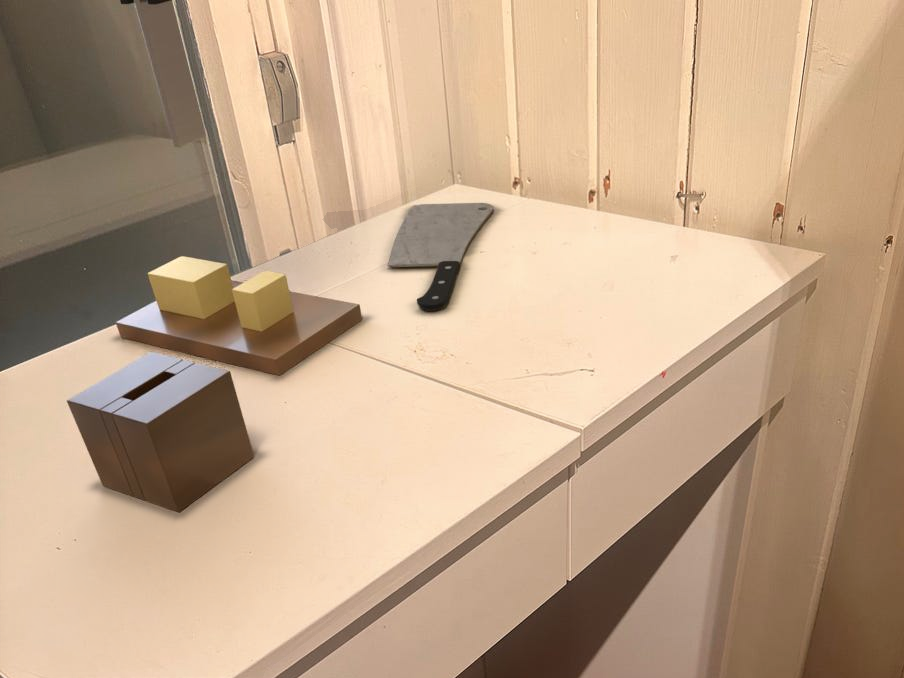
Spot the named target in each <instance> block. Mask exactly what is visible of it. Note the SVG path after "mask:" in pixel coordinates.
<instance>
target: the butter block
mask: <svg viewBox="0 0 904 678" xmlns="http://www.w3.org/2000/svg"><path fill="white" fill-rule="evenodd" d="M147 276H148V280H149V282H150V285H151V289H152V292H153V295H154V297H155V301H157V304H158V307H159V310H164V311H168V312H173V313H178V314H182V315H187V316H191V317H196V318H201V319H206V318H207V317H209V316H211V315H213V314H214V313H216V312H218V311H220V310H221V309H223V308H225V307H226V306H228V305H230V304H232V303H233V302H235V301H234V297H233V293H232V289H233V284H232V281H231V280H232V277H231V274H230V270H229V266H228V264H227V263H223V262H217V261H212V260H207V259H206V260H205V259H200V258H196V257H195V258H194V257H190V256H189V257H188V256H185V255H184V256H183V255H180V256H179V257H177V258H175V259H173V260H170V261H169V262H167V263H165V264H163V265H161V266H159V267H157V268H155V269H153V270H151V271H149V272H147Z"/></svg>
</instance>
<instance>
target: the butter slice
mask: <svg viewBox="0 0 904 678" xmlns="http://www.w3.org/2000/svg"><path fill="white" fill-rule="evenodd" d="M243 282H244V283H242V284H241V285H239V286H237V287H235V288H233V289H232V293H233V297H234V301H235V304H236V308H237V312H238V316H239V319H240V323H241V327H242V328H247V329H251V330H256V331H261V332H262V331H264V330H266V329H267V328H269V327H271V326H272V325H274V324H275V323H277V322H279V321H280V320H282V319H283V318H285V317H287V316H288V315H290V314H291V313H293V312H294V310H293V306H292V301H291V297H290V292H289V291H290V288H289V284H288V278H287V275H286V274H285V273H279V272H274V271H268V270H264V271H262V272H260V273H259V274H257V275H255V276H253V277H251V278H250V279H247V280H246V281H243Z"/></svg>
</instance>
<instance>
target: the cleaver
mask: <svg viewBox="0 0 904 678" xmlns="http://www.w3.org/2000/svg"><path fill="white" fill-rule="evenodd" d="M494 210H495V207H494V205H492V204H491V203H488V202H459V203H458V202H457V203H456V202H455V203H454V202H453V203H420V204H413V205H412V206H411V208H410V210H408V213H407V214H406V216H405V217H404V218H403V221H402V223H401V225H400V226H399V229H398V231H397V233H396V235H395V239H394V241H393V244H392V248H391V251H390V254H389V258H388V261H387V265H386V266H387V267H393V268H401V267H403V268H404V267H407V268H408V267H437V268H436V272H435V274H434V277H433V280H432V282H431V284H430V286H429V288H428V290H427V291H426V292H425V293H424V295H422V296H420V297H418V298H417V299H416V304H417V305H418V306H419V308H420V309H422V310H424V311H437V310H439V309H442V308H444V307H446V305H447V304H448V302H449V300H450V297H451V294H452V292H453V288H454V285H455V282H456V279H457V276H458V273H459V270H460V268H461V262H462V260H463V258H464V255H465V252H466V250H467V249H468V247H469V245H470V243H471V241H472V240H473V238H474V237H475V236H476V234H477V232H478V230H480V228H481V227H482V225H483V224H484V223H485V222H486V220H487V219H488V218H489V217H490V215H491V214H492V213H493V212H494Z"/></svg>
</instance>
